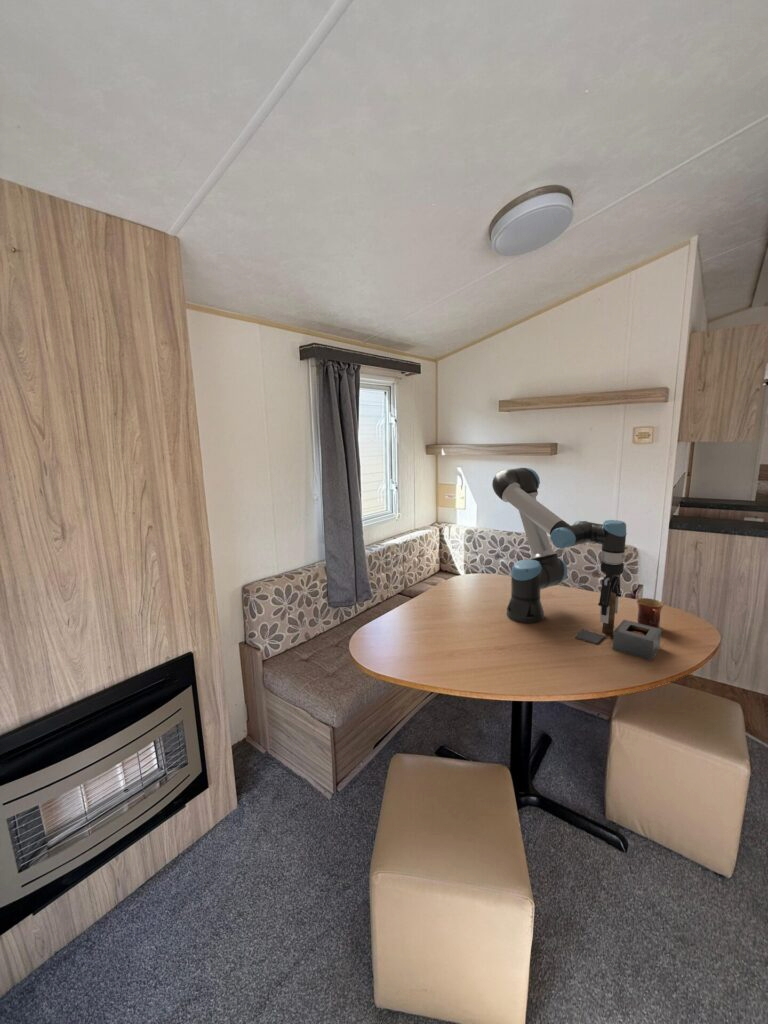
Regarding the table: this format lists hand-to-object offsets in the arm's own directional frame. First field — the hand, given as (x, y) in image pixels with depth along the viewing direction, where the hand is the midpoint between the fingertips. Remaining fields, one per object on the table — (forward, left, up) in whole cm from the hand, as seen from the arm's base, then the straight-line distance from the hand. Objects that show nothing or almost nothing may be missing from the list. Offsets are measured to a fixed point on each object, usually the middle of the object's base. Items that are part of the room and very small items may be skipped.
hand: (608, 617), depth 157 cm
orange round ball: (+11, -6, -4) cm, 13 cm away
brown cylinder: (0, 0, -6) cm, 6 cm away
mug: (+11, +14, -7) cm, 19 cm away
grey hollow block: (+11, -6, -6) cm, 14 cm away
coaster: (-4, -8, -6) cm, 11 cm away
